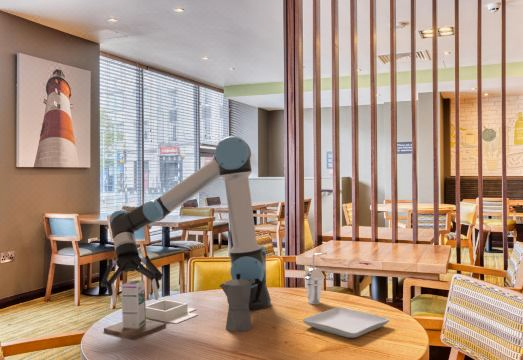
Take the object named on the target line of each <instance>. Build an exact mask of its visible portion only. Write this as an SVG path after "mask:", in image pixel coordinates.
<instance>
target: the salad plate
mask: <svg viewBox="0 0 523 360" xmlns="http://www.w3.org/2000/svg"><path fill="white" fill-rule="evenodd" d="M302 322H303V323H304V324H306V325H307V326H309V327H311V328H314V329H317V330H319V331H322V332H326V333H329V334H332V335H336V336H340V337H343V338H349V339H350V338H351V339H355V338H358V337H360V336H362V335H365V334H368V333H369V332H372V331H375V330H377V329H380V328H382V327H384V326H386V325H387V324H388V323H389V322H390V318H387V317H384V316H380V315H376V314H372V313H368V312H364V311H359V310H355V309H350V308H345V307H342V306H341V307H334V308H331V309H328V310H325V311H322V312H319V313H316V314H312V315H310V316H308V317H307V316H306V317H305V318H303V319H302Z"/></svg>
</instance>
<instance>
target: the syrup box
mask: <svg viewBox="0 0 523 360" xmlns="http://www.w3.org/2000/svg"><path fill="white" fill-rule="evenodd" d="M121 305H122V306H121V308H122V309H121V311H122V322H123V328H130V329H139V328H140V327H141V326H143V325H144V324H145V323H146V319H147V318H146V308H145V306H146V284H145V280H140V279H139V280H137V279H136V280H129V281H127V282H125V283H122V284H121Z"/></svg>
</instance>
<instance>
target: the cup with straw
mask: <svg viewBox="0 0 523 360" xmlns="http://www.w3.org/2000/svg"><path fill="white" fill-rule="evenodd" d="M327 254H328V253H327V252H321V253H314V254H312V267H309V268H308V269H307V270H306V271H305V273H304V275H303V277H302V279H303V280H304V281H305V285H306V293H307V300H308V304H311V305H318V304H320V303H321V298H322V297H321V296H322V295H321V294H322V288H323V287H322V286H323V282H324V279H325V278H326V277H325V275H324V274H323V272H322V270H321V269H320V268H318V267H315V257H316V256H317V257H318V256H324V255H327Z"/></svg>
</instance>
